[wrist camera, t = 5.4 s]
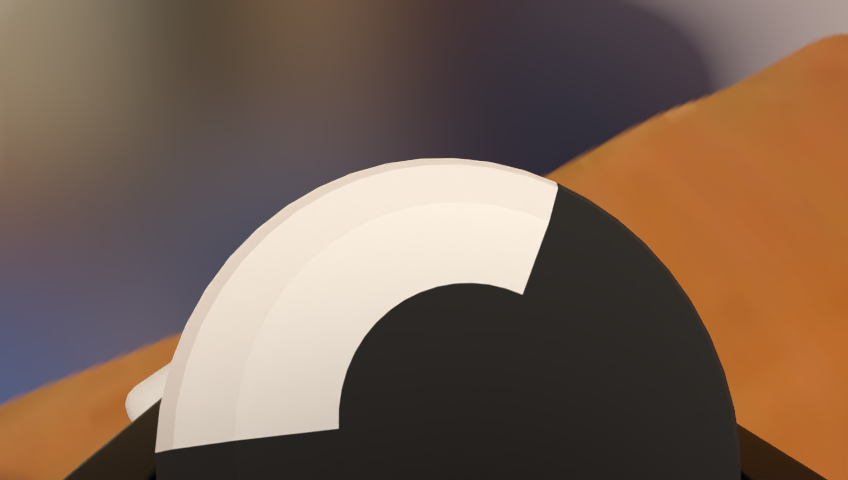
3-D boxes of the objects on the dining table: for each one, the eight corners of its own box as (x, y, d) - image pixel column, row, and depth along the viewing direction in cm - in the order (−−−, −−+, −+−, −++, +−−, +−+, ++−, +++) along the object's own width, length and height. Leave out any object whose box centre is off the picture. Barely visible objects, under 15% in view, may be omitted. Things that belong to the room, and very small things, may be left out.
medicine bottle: (571, 470, 17) (985, 481, 6) (364, 663, 15) (406, 1242, 4) (414, 273, 19) (511, -16, 7) (206, 424, 17) (-97, 338, 5)
